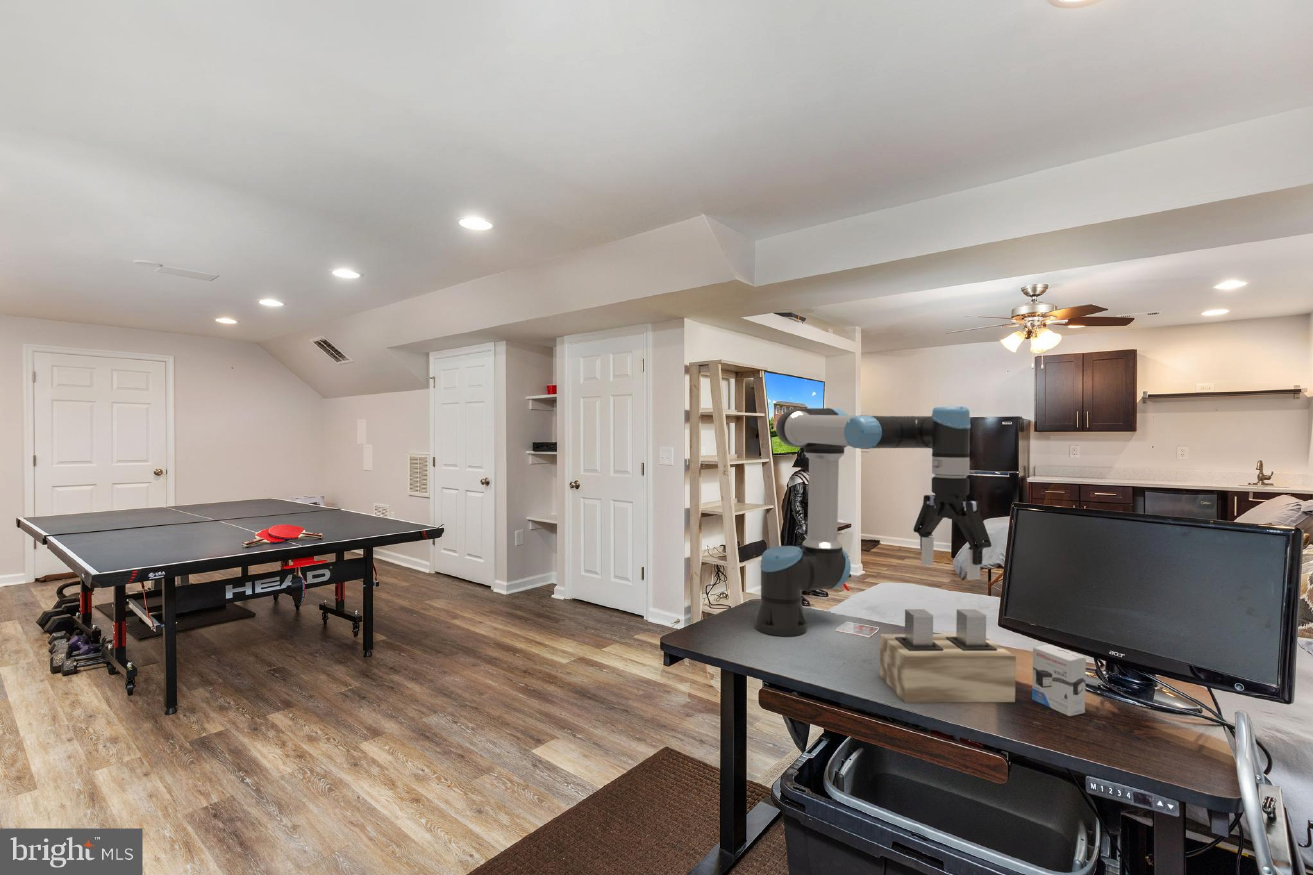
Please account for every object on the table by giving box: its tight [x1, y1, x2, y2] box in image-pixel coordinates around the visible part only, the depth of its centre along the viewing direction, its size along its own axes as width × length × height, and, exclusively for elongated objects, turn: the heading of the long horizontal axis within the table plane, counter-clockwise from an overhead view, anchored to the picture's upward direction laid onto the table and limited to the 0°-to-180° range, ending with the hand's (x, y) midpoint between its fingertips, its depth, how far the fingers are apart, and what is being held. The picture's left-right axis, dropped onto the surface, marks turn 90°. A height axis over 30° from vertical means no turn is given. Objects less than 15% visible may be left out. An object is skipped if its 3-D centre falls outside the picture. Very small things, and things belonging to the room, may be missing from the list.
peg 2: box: [955, 608, 987, 647], centre depth 137 cm, size 4×4×9 cm
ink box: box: [1031, 644, 1087, 717], centre depth 129 cm, size 8×5×12 cm, turn 21°
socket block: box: [879, 633, 1017, 704], centre depth 137 cm, size 14×24×10 cm, turn 91°
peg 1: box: [904, 608, 934, 647], centre depth 137 cm, size 4×4×9 cm
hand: (949, 572), depth 134 cm, fingers open, 13 cm apart
